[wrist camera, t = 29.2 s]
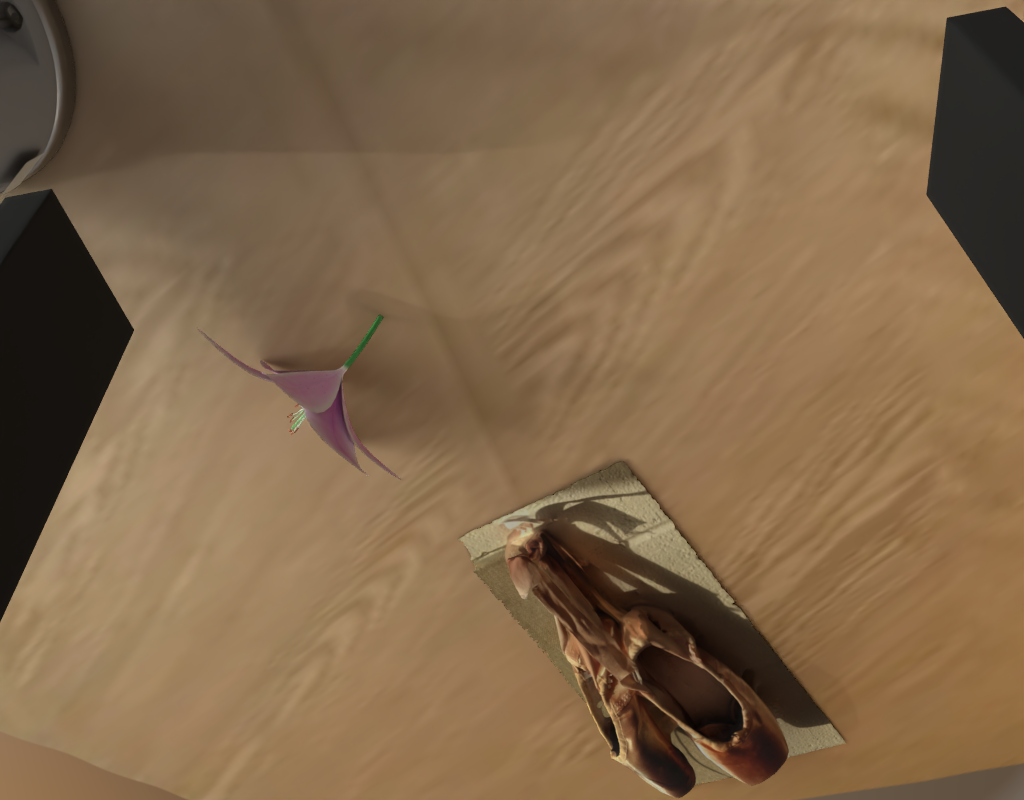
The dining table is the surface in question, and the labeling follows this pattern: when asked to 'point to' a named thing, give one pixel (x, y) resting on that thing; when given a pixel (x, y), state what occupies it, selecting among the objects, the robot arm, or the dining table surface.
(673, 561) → the ballet pointe shoes
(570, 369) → the dining table surface
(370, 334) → the lily
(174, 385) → the dining table surface
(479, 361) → the dining table surface
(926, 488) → the dining table surface
